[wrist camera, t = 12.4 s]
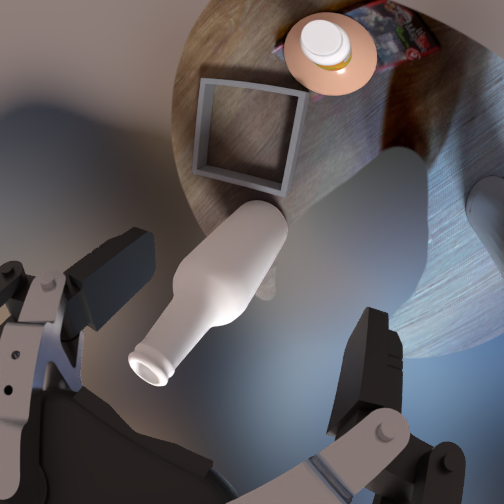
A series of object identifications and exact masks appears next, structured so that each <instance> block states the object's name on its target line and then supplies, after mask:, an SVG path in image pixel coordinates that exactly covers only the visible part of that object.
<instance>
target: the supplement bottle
mask: <svg viewBox="0 0 504 504" xmlns="http://www.w3.org/2000/svg"><path fill="white" fill-rule="evenodd" d="M300 46H301V49H302V51H303V53H304V54H305V56H306V57H307V58H308V59H310V60H311V61H312V62H313V63H315V64H316V65H317V66H318V67H320V68H322V69H324V70H327V71H339V70H342V69H343V68H345V67H346V66H347V65H348V64H349V63H350V61H351V58H352V48H351V44H350V39H349V37H348V35H347V33H346V32H345V30H344V29H343V28H341V27H340V26H339V25H337V24H335V23H332V22H329V21H326V20H314V21H311V22H309V23H308V24H307V25H305V27H304V28H303V30H302V32H301V36H300Z"/></svg>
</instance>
